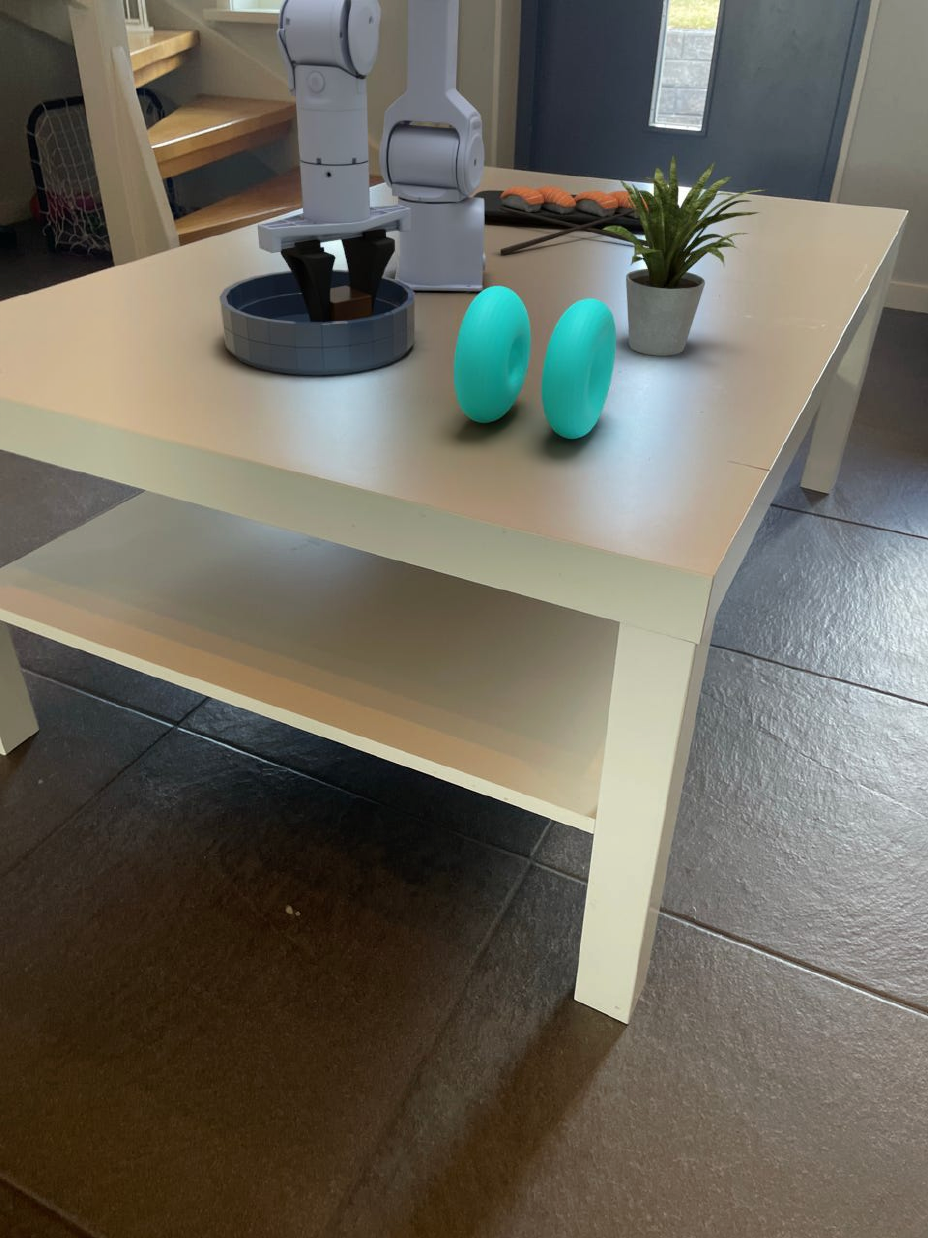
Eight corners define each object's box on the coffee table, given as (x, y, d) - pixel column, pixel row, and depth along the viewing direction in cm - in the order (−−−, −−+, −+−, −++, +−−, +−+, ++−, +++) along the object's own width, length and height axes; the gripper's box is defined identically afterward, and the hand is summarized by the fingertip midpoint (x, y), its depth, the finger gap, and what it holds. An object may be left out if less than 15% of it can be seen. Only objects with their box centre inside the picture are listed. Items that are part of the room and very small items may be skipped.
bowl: (416, 317, 97) (416, 270, 95) (412, 378, 83) (412, 325, 81) (242, 314, 97) (238, 267, 94) (208, 375, 83) (202, 322, 80)
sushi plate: (678, 214, 140) (681, 186, 138) (679, 266, 116) (684, 232, 114) (478, 202, 144) (479, 174, 142) (439, 250, 120) (439, 217, 118)
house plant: (700, 389, 82) (734, 181, 73) (554, 357, 88) (570, 160, 79) (754, 345, 93) (790, 156, 83) (620, 318, 98) (640, 139, 89)
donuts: (494, 394, 80) (499, 269, 75) (612, 414, 77) (626, 286, 72) (446, 438, 73) (448, 302, 67) (574, 462, 70) (588, 323, 64)
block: (347, 328, 92) (345, 285, 90) (373, 339, 89) (371, 295, 87) (311, 336, 90) (309, 292, 88) (336, 347, 87) (334, 302, 85)
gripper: (376, 146, 88) (379, 299, 95) (232, 160, 80) (249, 326, 87) (425, 157, 83) (425, 316, 91) (278, 173, 75) (291, 347, 83)
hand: (341, 323), depth 89 cm, fingers closed on block, 4 cm apart
